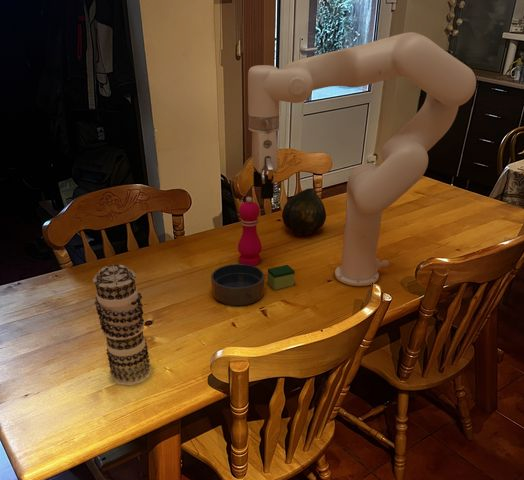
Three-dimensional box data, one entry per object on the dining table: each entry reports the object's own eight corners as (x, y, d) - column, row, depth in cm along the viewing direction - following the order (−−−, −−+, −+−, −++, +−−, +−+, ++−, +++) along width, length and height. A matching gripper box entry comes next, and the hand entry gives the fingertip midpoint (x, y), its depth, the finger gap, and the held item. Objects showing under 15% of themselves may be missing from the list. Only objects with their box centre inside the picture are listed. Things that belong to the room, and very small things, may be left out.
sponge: (287, 278, 153) (287, 264, 150) (294, 285, 150) (294, 270, 147) (267, 283, 151) (267, 268, 148) (274, 289, 148) (274, 275, 145)
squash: (272, 222, 173) (304, 189, 166) (276, 208, 186) (306, 176, 179) (303, 251, 177) (336, 220, 170) (305, 235, 190) (336, 205, 183)
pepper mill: (259, 267, 159) (258, 202, 147) (235, 265, 160) (233, 200, 148) (263, 257, 164) (264, 193, 153) (241, 255, 166) (239, 191, 154)
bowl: (251, 277, 153) (251, 260, 150) (272, 300, 143) (273, 281, 140) (204, 287, 149) (203, 269, 145) (223, 311, 138) (222, 292, 135)
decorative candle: (138, 355, 122) (121, 255, 108) (161, 373, 116) (146, 270, 102) (102, 372, 117) (79, 269, 102) (124, 392, 111) (104, 286, 97)
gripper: (287, 130, 124) (284, 202, 134) (270, 114, 137) (270, 181, 147) (255, 132, 122) (255, 204, 132) (242, 115, 136) (243, 182, 146)
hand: (263, 192), depth 140 cm, fingers open, 9 cm apart
